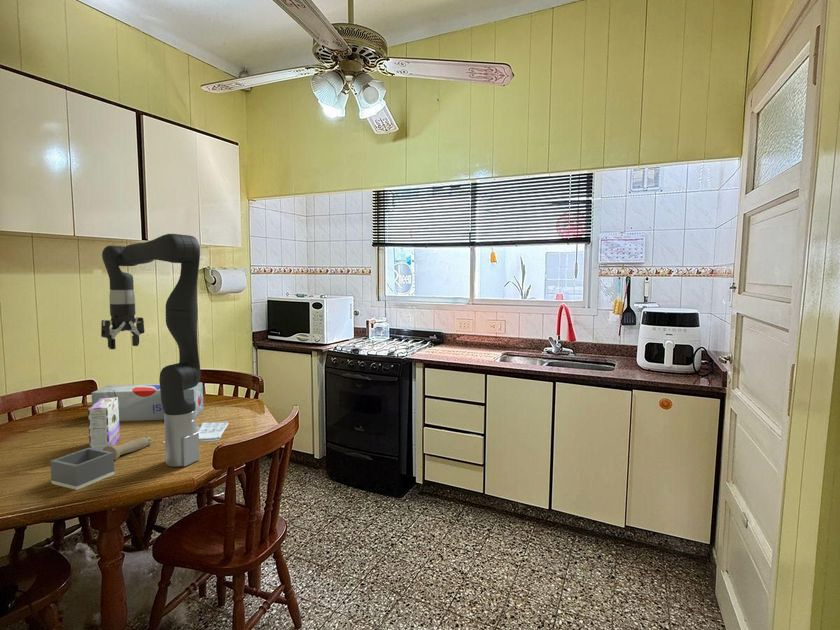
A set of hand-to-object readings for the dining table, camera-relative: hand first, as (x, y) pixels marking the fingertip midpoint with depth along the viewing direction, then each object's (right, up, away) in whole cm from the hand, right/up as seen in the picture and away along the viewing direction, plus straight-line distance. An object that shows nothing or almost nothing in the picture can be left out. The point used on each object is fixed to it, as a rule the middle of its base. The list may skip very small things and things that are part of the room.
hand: (124, 347), depth 157 cm
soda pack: (-12, -34, +35) cm, 50 cm away
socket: (+4, -38, -24) cm, 45 cm away
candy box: (-8, -36, +1) cm, 37 cm away
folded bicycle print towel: (+18, -36, +15) cm, 43 cm away
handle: (+7, -34, +3) cm, 35 cm away
